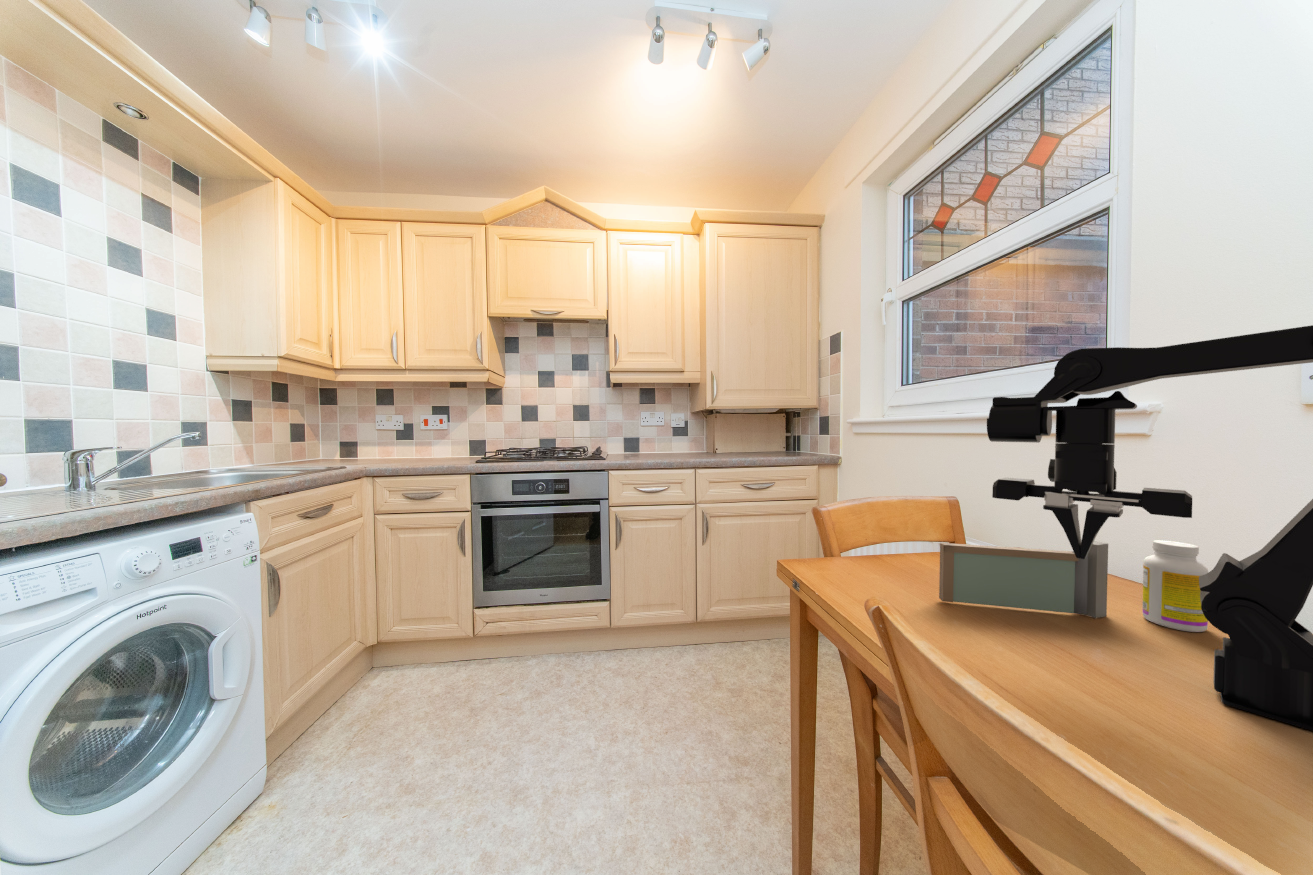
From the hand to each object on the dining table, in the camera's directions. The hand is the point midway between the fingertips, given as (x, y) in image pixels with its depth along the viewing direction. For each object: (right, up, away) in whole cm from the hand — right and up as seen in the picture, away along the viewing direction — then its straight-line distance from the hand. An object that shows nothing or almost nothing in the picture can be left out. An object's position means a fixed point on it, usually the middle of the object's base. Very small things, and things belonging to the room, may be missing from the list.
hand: (1080, 558), depth 59 cm
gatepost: (+15, -13, +13) cm, 24 cm away
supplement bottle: (+24, -13, +10) cm, 29 cm away
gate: (+3, -12, +15) cm, 19 cm away
